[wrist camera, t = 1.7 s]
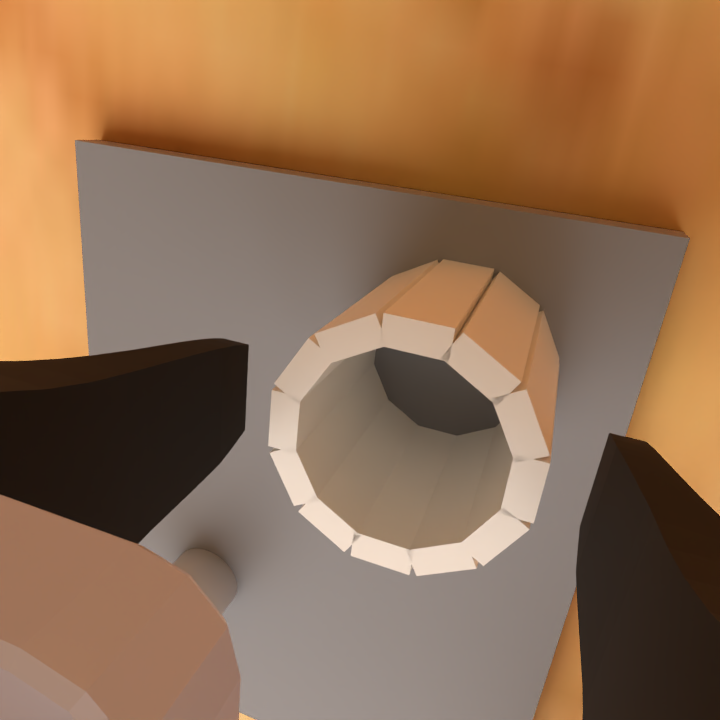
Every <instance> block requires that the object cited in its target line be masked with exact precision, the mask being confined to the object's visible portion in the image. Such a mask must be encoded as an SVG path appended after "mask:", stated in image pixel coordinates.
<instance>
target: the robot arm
mask: <svg viewBox="0 0 720 720" xmlns="http://www.w3.org/2000/svg"><path fill="white" fill-rule="evenodd" d="M248 352H249V345H248V344H244V343H240V342H236V341H232V340H228V339H224V338H209V339H199V340H191V341H184V342H177V343H171V344H165V345H159V346H152V347H146V348H140V349H134V350H127V351H120V352H113V353H105V354H98V355H91V356H83V357H74V358H63V359H50V360H33V361H0V720H239V702H240V682H241V677H240V673H239V669H238V665H237V661H236V657H235V653H234V649H233V645H232V641H231V637H230V633H229V629H228V626H227V623H226V620H225V618H224V617H223V616H222V615H221V613H220V612H219V611H218V609H217V608H216V607H215V606H214V604H213V603H212V602H211V601H210V599H209V598H208V597H207V596H206V594H205V593H204V592H203V590H202V589H201V588H200V587H199V585H198V584H197V583H196V582H195V580H194V579H193V578H192V577H191V575H190V574H188V573H187V572H185V571H183V570H182V569H180V568H178V567H177V566H175V565H173V564H172V563H170V562H169V561H167V560H165V559H164V558H162V557H160V556H159V555H157V554H155V553H154V552H152V551H150V550H149V549H147V548H145V547H144V546H142V545H139V543H140V542H141V541H142V540H143V538H144V537H145V536H146V535H147V534H148V533H149V532H150V531H151V530H152V529H153V528H154V527H155V526H156V525H157V524H158V523H160V522H161V521H162V520H163V519H164V518H165V517H166V516H167V515H168V514H169V513H170V512H171V511H172V510H173V509H174V508H175V507H176V506H177V505H178V504H179V503H180V502H181V501H182V500H184V499H185V498H186V497H187V496H188V495H189V494H190V493H191V492H192V491H193V490H194V489H195V488H196V487H197V486H198V485H199V484H200V483H201V482H202V481H203V480H204V479H205V478H206V477H207V476H208V475H209V474H210V473H211V472H212V471H213V470H214V469H215V468H216V467H217V466H218V465H219V464H220V463H221V462H222V461H223V459H224V458H225V457H226V455H227V454H228V453H229V452H230V450H231V449H232V448H233V446H234V445H235V444H236V442H237V441H238V439H239V438H240V437H241V435H242V434H243V432H244V431H245V421H246V398H247V375H248ZM576 586H577V603H578V620H579V636H580V651H581V667H582V683H583V720H720V516H719V515H718V514H717V513H716V512H715V511H714V510H713V509H712V508H711V507H710V506H709V505H708V504H707V503H706V502H705V501H704V500H703V499H702V498H701V497H700V496H699V495H698V494H697V493H696V492H695V491H694V490H693V489H692V488H691V487H690V486H689V485H688V484H687V483H686V482H685V481H684V480H683V479H682V478H681V477H680V476H679V474H678V473H677V472H676V471H675V470H674V469H673V468H672V467H671V466H670V465H669V464H668V463H667V462H666V461H665V460H664V459H663V458H662V456H661V455H660V454H659V453H658V452H657V451H656V450H655V449H654V448H653V447H651V446H650V445H649V444H648V443H647V442H645V441H641V440H637V439H633V438H628V437H624V436H620V435H616V434H612V433H609V435H608V438H607V441H606V445H605V448H604V451H603V454H602V457H601V460H600V464H599V467H598V470H597V473H596V476H595V480H594V483H593V486H592V489H591V492H590V495H589V499H588V502H587V505H586V508H585V511H584V514H583V518H582V521H581V524H580V530H579V540H578V551H577V564H576Z"/></svg>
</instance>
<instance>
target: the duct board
mask: <svg viewBox="0 0 720 720" xmlns="http://www.w3.org/2000/svg"><path fill="white" fill-rule="evenodd" d="M75 146H76V161H77V177H78V192H79V208H80V223H81V238H82V254H83V269H84V284H85V300H86V315H87V331H88V346H89V356H91V355H98V354H105V353H113V352H120V351H127V350H134V349H140V348H146V347H152V346H159V345H165V344H171V343H177V342H184V341H191V340H199V339H209V338H224V339H228V340H232V341H236V342H240V343H244V344H248V345H249V352H248V375H247V398H246V421H245V431H244V432H243V434H242V435H241V437H240V438H239V439H238V441H237V442H236V444H235V445H234V446H233V448H232V449H231V450H230V452H229V453H228V454H227V455H226V457H225V458H224V459H223V461H222V462H221V463H220V464H219V465H218V466H217V467H216V468H215V469H214V470H213V471H212V472H211V473H210V474H209V475H208V476H207V477H206V478H205V479H204V480H203V481H202V482H201V483H200V484H199V485H198V486H197V487H196V488H195V489H194V490H193V491H192V492H191V493H190V494H189V495H188V496H187V497H186V498H185V499H184V500H182V501H181V502H180V503H179V504H178V505H177V506H176V507H175V508H174V509H173V510H172V511H171V512H170V513H169V514H168V515H167V516H166V517H165V518H164V519H163V520H162V521H161V522H160V523H158V524H157V525H156V526H155V527H154V528H153V529H152V530H151V531H150V532H149V533H148V534H147V535H146V536H145V537H144V538H143V540H142V541H141V542H140V543H139V545H142V546H144V547H145V548H147V549H149V550H150V551H152V552H154V553H155V554H157V555H159V556H160V557H162V558H164V559H165V560H167V561H169V562H170V563H172V564H173V565H175V566H177V567H178V568H180V569H182V570H183V571H185V572H187V573H188V574H190V575H191V577H192V578H193V579H194V580H195V582H196V583H197V584H198V585H199V587H200V588H201V589H202V590H203V592H204V593H205V594H206V596H207V597H208V598H209V599H210V601H211V602H212V603H213V604H214V606H215V607H216V608H217V609H218V611H219V612H220V613H221V615H222V616H223V617H224V618H225V620H226V623H227V626H228V629H229V633H230V637H231V641H232V645H233V649H234V653H235V657H236V661H237V665H238V669H239V673H240V677H241V682H240V702H239V712H240V713H242V714H245V715H247V716H249V717H252V718H254V719H256V720H533V717H534V714H535V711H536V708H537V705H538V702H539V699H540V696H541V693H542V690H543V687H544V684H545V681H546V678H547V675H548V671H549V668H550V665H551V662H552V659H553V656H554V653H555V650H556V647H557V644H558V641H559V638H560V635H561V632H562V629H563V626H564V622H565V619H566V616H567V613H568V610H569V607H570V604H571V601H572V598H573V595H574V592H575V589H576V564H577V551H578V540H579V530H580V524H581V521H582V518H583V514H584V511H585V508H586V505H587V502H588V499H589V495H590V492H591V489H592V486H593V483H594V480H595V476H596V473H597V470H598V467H599V464H600V460H601V457H602V454H603V451H604V448H605V445H606V441H607V438H608V435H609V433H612V434H616V435H620V436H624V437H625V436H626V433H627V430H628V427H629V423H630V420H631V417H632V414H633V411H634V408H635V405H636V402H637V399H638V396H639V393H640V390H641V387H642V384H643V381H644V378H645V375H646V371H647V368H648V365H649V362H650V359H651V356H652V353H653V350H654V347H655V344H656V341H657V338H658V335H659V332H660V329H661V326H662V322H663V319H664V316H665V313H666V310H667V307H668V304H669V301H670V298H671V295H672V292H673V289H674V286H675V283H676V280H677V277H678V273H679V270H680V267H681V264H682V261H683V258H684V255H685V252H686V249H687V246H688V243H689V240H690V238H689V237H688V236H687V235H686V234H685V233H684V232H681V231H675V230H669V229H662V228H656V227H650V226H643V225H637V224H631V223H624V222H618V221H612V220H605V219H599V218H593V217H586V216H580V215H573V214H567V213H561V212H554V211H548V210H542V209H535V208H529V207H523V206H516V205H510V204H504V203H497V202H491V201H484V200H478V199H472V198H465V197H459V196H453V195H446V194H440V193H434V192H427V191H421V190H415V189H408V188H402V187H396V186H389V185H383V184H376V183H370V182H364V181H357V180H351V179H345V178H338V177H332V176H326V175H319V174H313V173H307V172H300V171H294V170H288V169H281V168H275V167H268V166H262V165H256V164H249V163H243V162H237V161H230V160H224V159H218V158H211V157H205V156H199V155H192V154H186V153H180V152H173V151H167V150H160V149H154V148H148V147H141V146H135V145H129V144H122V143H116V142H110V141H103V140H75ZM443 259H445V260H450V261H456V262H461V263H466V264H472V265H477V266H482V267H488V268H493V269H494V273H493V277H492V280H493V279H494V277H495V276H496V275H497V274H498V273H499V272H501V273H502V274H504V275H505V276H506V277H507V278H508V279H509V280H511V281H512V282H513V283H514V284H515V285H517V286H518V287H519V288H520V289H521V290H522V291H524V292H525V293H526V294H527V295H528V296H530V297H531V298H532V299H533V300H534V301H535V302H537V303H538V304H539V305H540V307H539V312H540V311H544V314H545V317H546V320H547V323H548V326H549V328H550V331H551V334H552V337H553V340H554V343H555V346H556V349H557V352H558V355H559V375H558V386H557V397H556V407H555V418H554V429H553V440H552V451H551V461H550V467H549V470H548V474H547V477H546V481H545V485H544V488H543V492H542V495H541V499H540V503H539V506H538V510H537V514H536V517H535V521H534V524H533V523H530V530H529V531H527V532H526V533H525V534H523V535H522V536H521V537H520V538H518V539H517V540H516V541H515V542H513V543H512V544H511V545H509V546H508V547H507V548H506V549H504V550H503V551H502V552H501V553H499V554H498V555H497V556H495V557H494V558H493V559H492V560H490V561H489V562H488V563H487V564H485V565H484V566H483V565H481V564H480V563H479V562H478V565H477V569H471V570H462V571H454V572H446V573H438V574H430V575H422V576H416V574H415V571H414V569H413V567H412V570H411V572H410V575H407V574H404V573H401V572H398V571H395V570H392V569H389V568H386V567H383V566H380V565H377V564H374V563H371V562H368V561H365V560H362V559H359V558H356V557H353V556H351V549H352V545H351V546H350V547H349V548H348V549H347V550H346V551H345V552H344V551H342V550H341V549H340V548H339V547H338V546H337V545H336V544H334V543H333V542H332V541H331V540H330V539H329V538H328V537H326V536H325V535H324V534H323V533H322V532H321V531H320V530H319V529H317V528H316V527H315V526H314V525H313V524H312V523H311V522H309V521H308V520H307V519H306V518H305V517H304V516H303V515H301V514H300V513H299V512H298V511H299V510H300V509H301V507H302V506H303V505H304V504H301V505H296V506H294V505H293V503H292V501H291V498H290V496H289V494H288V492H287V490H286V488H285V485H284V483H283V481H282V479H281V477H280V474H279V472H278V470H277V468H276V466H275V464H274V461H273V459H272V457H271V455H270V452H271V451H272V450H273V448H274V447H270V446H268V440H269V424H270V409H271V393H272V389H273V388H275V387H276V385H275V384H274V383H275V382H276V380H277V379H278V378H279V376H280V375H281V374H282V372H283V371H284V370H285V368H286V367H287V366H288V364H289V363H290V362H291V360H292V359H293V358H294V356H295V355H296V354H297V352H298V351H299V350H300V348H301V347H302V346H303V345H304V343H305V342H306V341H307V339H308V338H309V337H310V336H312V335H313V334H314V333H316V332H317V331H319V330H320V329H321V328H323V327H324V326H325V325H327V324H328V323H329V322H331V321H332V320H333V319H335V318H336V317H337V316H339V315H340V314H341V313H343V312H344V311H346V310H347V309H348V308H350V307H351V306H352V305H354V304H355V303H356V302H358V301H359V300H360V299H362V298H363V297H364V296H366V295H367V294H368V293H370V292H371V291H372V290H374V289H375V288H377V287H378V286H379V285H381V284H382V283H383V282H385V281H386V280H387V279H389V278H390V277H392V276H394V275H396V274H399V273H402V272H405V271H408V270H410V269H413V268H416V267H419V266H421V265H424V264H427V263H430V262H433V261H435V260H438V263H440V262H441V261H442V260H443ZM374 365H375V368H376V370H377V373H378V375H379V378H380V380H381V383H382V385H383V388H384V390H385V392H386V395H387V397H388V400H389V401H390V402H392V403H393V404H394V405H395V406H396V407H397V408H399V409H400V410H401V411H402V412H403V413H404V414H406V415H407V416H408V417H409V418H410V419H411V420H412V421H414V422H415V423H416V424H417V425H418V426H422V427H426V428H430V429H433V430H437V431H441V432H445V433H449V434H452V435H456V436H458V435H462V434H467V433H471V432H476V431H480V430H485V429H489V428H493V427H496V426H497V425H498V424H499V423H500V421H499V418H498V415H497V412H496V410H495V407H494V404H493V402H492V401H490V400H489V399H488V398H487V397H486V396H485V395H483V394H482V393H481V392H480V391H479V390H478V389H477V388H475V387H474V386H473V385H472V384H471V383H470V382H468V381H467V380H466V379H465V378H464V377H463V376H461V375H460V374H459V373H458V372H457V371H456V370H454V369H453V368H452V367H451V366H450V365H449V364H447V363H446V362H445V361H443V360H439V359H434V358H430V357H426V356H421V355H417V354H413V353H409V352H404V351H400V350H396V349H391V348H387V347H381V348H378V349H376V353H375V361H374Z"/></svg>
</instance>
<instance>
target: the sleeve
mask: <svg viewBox="0 0 720 720" xmlns="http://www.w3.org/2000/svg"><path fill="white" fill-rule="evenodd" d="M493 273H494V269H493V268H488V267H482V266H477V265H472V264H466V263H461V262H456V261H450V260H445V259H443V260H442V261H441V262H440V263H438V260H435V261H433V262H430V263H427V264H424V265H421V266H419V267H416V268H413V269H410V270H408V271H405V272H402V273H399V274H396V275H394V276H392V277H390V278H389V279H387V280H386V281H385V282H383V283H382V284H381V285H379V286H378V287H377V288H375V289H374V290H372V291H371V292H370V293H368V294H367V295H366V296H364V297H363V298H362V299H360V300H359V301H358V302H356V303H355V304H354V305H352V306H351V307H350V308H348V309H347V310H346V311H344V312H343V313H341V314H340V315H339V316H337V317H336V318H335V319H333V320H332V321H331V322H329V323H328V324H327V325H325V326H324V327H323V328H321V329H320V330H319V331H317V332H316V333H314V334H313V335H312V336H310V337H309V338H308V339H307V341H306V342H305V343H304V345H303V346H302V347H301V348H300V350H299V351H298V352H297V354H296V355H295V356H294V358H293V359H292V360H291V362H290V363H289V364H288V366H287V367H286V368H285V370H284V371H283V372H282V374H281V375H280V376H279V378H278V379H277V380H276V382H275V383H274V384H275V385H276V387H275V388H273V389H272V393H271V409H270V424H269V440H268V446H270V447H274V448H273V450H272V451H271V452H270V455H271V457H272V459H273V461H274V464H275V466H276V468H277V470H278V472H279V474H280V477H281V479H282V481H283V483H284V485H285V488H286V490H287V492H288V494H289V496H290V498H291V501H292V503H293V505H294V506H296V505H301V504H304V505H303V506H302V507H301V509H300V510H299V511H298V512H299V513H300V514H301V515H303V516H304V517H305V518H306V519H307V520H308V521H309V522H311V523H312V524H313V525H314V526H315V527H316V528H317V529H319V530H320V531H321V532H322V533H323V534H324V535H325V536H326V537H328V538H329V539H330V540H331V541H332V542H333V543H334V544H336V545H337V546H338V547H339V548H340V549H341V550H342V551H344V552H345V551H346V550H347V549H348V548H349V547H350V546H351V545H352V549H351V556H353V557H356V558H359V559H362V560H365V561H368V562H371V563H374V564H377V565H380V566H383V567H386V568H389V569H392V570H395V571H398V572H401V573H404V574H407V575H410V572H411V570H412V567H413V569H414V571H415V574H416V576H422V575H430V574H438V573H446V572H454V571H462V570H471V569H477V565H478V562H479V563H480V564H481V565H483V566H484V565H485V564H487V563H488V562H489V561H490V560H492V559H493V558H494V557H495V556H497V555H498V554H499V553H501V552H502V551H503V550H504V549H506V548H507V547H508V546H509V545H511V544H512V543H513V542H515V541H516V540H517V539H518V538H520V537H521V536H522V535H523V534H525V533H526V532H527V531H529V530H530V523H533V524H534V521H535V517H536V514H537V510H538V506H539V503H540V499H541V495H542V492H543V488H544V485H545V481H546V477H547V474H548V470H549V467H550V461H551V451H552V440H553V429H554V418H555V407H556V397H557V386H558V375H559V355H558V352H557V349H556V346H555V343H554V340H553V337H552V334H551V331H550V328H549V326H548V323H547V320H546V317H545V314H544V311H540V312H539V307H540V305H539V304H538V303H537V302H535V301H534V300H533V299H532V298H531V297H530V296H528V295H527V294H526V293H525V292H524V291H522V290H521V289H520V288H519V287H518V286H517V285H515V284H514V283H513V282H512V281H511V280H509V279H508V278H507V277H506V276H505V275H504V274H502V273H501V272H499V273H498V274H497V275H496V276H495V277H494V279H493V280H492V277H493ZM381 347H387V348H391V349H396V350H400V351H404V352H409V353H413V354H417V355H421V356H426V357H430V358H434V359H439V360H443V361H445V362H446V363H447V364H449V365H450V366H451V367H452V368H453V369H454V370H456V371H457V372H458V373H459V374H460V375H461V376H463V377H464V378H465V379H466V380H467V381H468V382H470V383H471V384H472V385H473V386H474V387H475V388H477V389H478V390H479V391H480V392H481V393H482V394H483V395H485V396H486V397H487V398H488V399H489V400H490V401H492V402H493V404H494V407H495V410H496V412H497V415H498V418H499V421H500V423H499V424H498V425H497V426H496V427H493V428H489V429H485V430H480V431H476V432H471V433H467V434H462V435H458V436H456V435H452V434H449V433H445V432H441V431H437V430H433V429H430V428H426V427H422V426H418V425H417V424H416V423H415V422H414V421H412V420H411V419H410V418H409V417H408V416H407V415H406V414H404V413H403V412H402V411H401V410H400V409H399V408H397V407H396V406H395V405H394V404H393V403H392V402H390V401H389V400H388V397H387V395H386V392H385V390H384V388H383V385H382V383H381V380H380V378H379V375H378V373H377V370H376V368H375V365H374V361H375V353H376V349H378V348H381Z"/></svg>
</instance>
